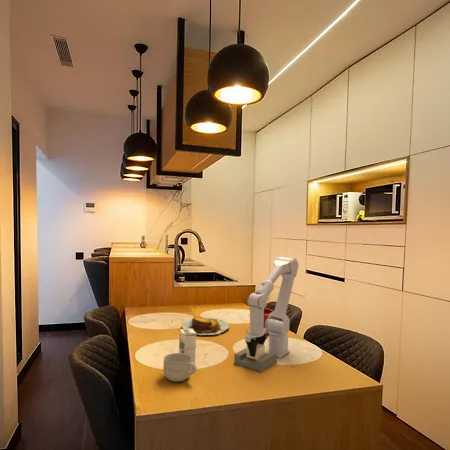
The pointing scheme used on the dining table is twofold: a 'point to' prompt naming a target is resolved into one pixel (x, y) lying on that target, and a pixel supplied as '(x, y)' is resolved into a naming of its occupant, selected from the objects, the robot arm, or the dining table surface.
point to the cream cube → (259, 352)
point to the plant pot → (266, 317)
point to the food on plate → (206, 325)
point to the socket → (255, 361)
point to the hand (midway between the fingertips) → (255, 354)
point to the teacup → (178, 366)
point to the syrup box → (187, 342)
